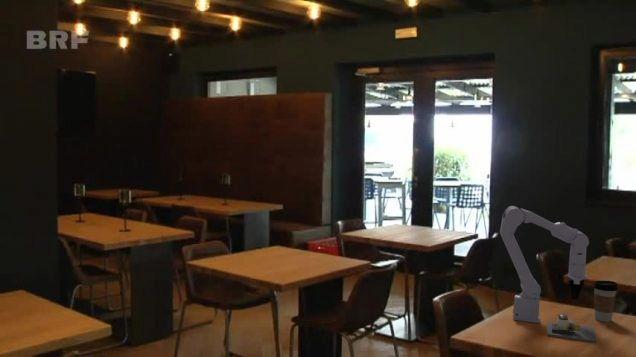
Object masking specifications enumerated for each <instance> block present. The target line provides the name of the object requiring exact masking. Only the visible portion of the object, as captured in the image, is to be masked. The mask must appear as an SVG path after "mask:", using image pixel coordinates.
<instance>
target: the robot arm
mask: <svg viewBox="0 0 636 357" xmlns="http://www.w3.org/2000/svg"><path fill="white" fill-rule="evenodd" d="M522 223H524V224H529V223H531V224H534V225H537V226H539V227H541V228H544V229H546V230H548V231H550V234H551V236H553V237H555V238H557V239H559V240H561V241H563V242H565V243H568V244H570V250H569V260H568V274H567V277H568V278H569V279H567V281H568V284H569V288H570V296H571V299H572V300H577V301H578V300H579V298H580V294H581V290H582V288H583V287H584V285H585V279H587V280H588V279H589V276H588V275H586V262H587V248H588V246H589V244H590V241H589V237H588V236H587V235H586V234H585V233H583V232H582V231H580V230H578V228H575V227H574V228H573V227H570V226H569V225H567V223H565V222H564V221H562V222H560V221H558V222H555V223H554V222H551V221H550V220H548V219H546V218H544V217H542V216H540V215H539V214H536V213H535V212H533V211H530V210H527V209H524V208H521V207H520V208H519V207H518V206H516V205H509V206H507V207H506V209H505V210H504V211H503V214H502V215H501V222H500V229H499V234H500V236H501V238H502V241H503V243H504V246H505V248H506V250H507V252H508V255H509V256H510V259H511V262H512V263H513V266H514V268H515V270H516V273H517V275H518V277H519V279H520V289H521V290H522V291H521V293H519V294H515V295H514V300H513V309H512V314H513V315H512V316H513V317H512V320H514V321H520V322H530V323H536V324H539V323H540V320H541V317H540V315H539V314H540V300H541V296H540V295H541V293H542V288H541V285H540V284H538V282H537V280H536V279H535V278H534V276H533V274H532V273H531V271H530V268H529V266H528V263H527V261H526V260H525V257H524V254H523V252H522V250H521V247H520V245H519V244H518V241H517V239H516V236H515V235H514V234H515V233H516V231H517V228H518V227H519V226H520V225H521V224H522Z"/></svg>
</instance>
